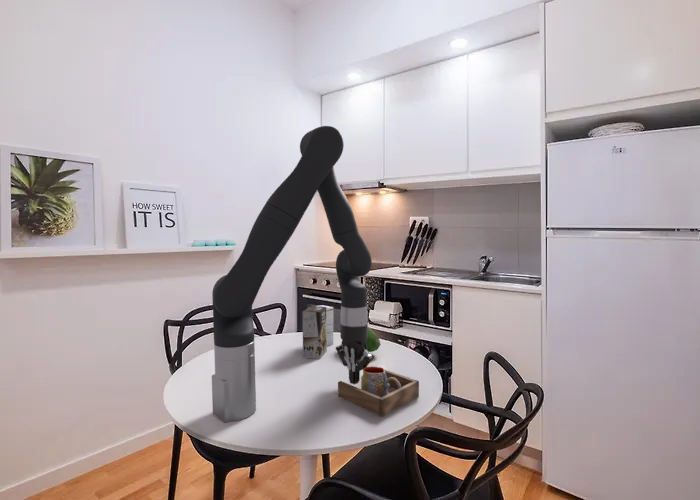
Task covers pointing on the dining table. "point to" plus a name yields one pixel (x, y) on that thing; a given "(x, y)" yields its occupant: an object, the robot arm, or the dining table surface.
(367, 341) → the fruit
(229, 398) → the robot arm
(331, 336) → the syrup box
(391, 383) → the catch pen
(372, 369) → the mug
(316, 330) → the coffee box
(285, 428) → the dining table surface
